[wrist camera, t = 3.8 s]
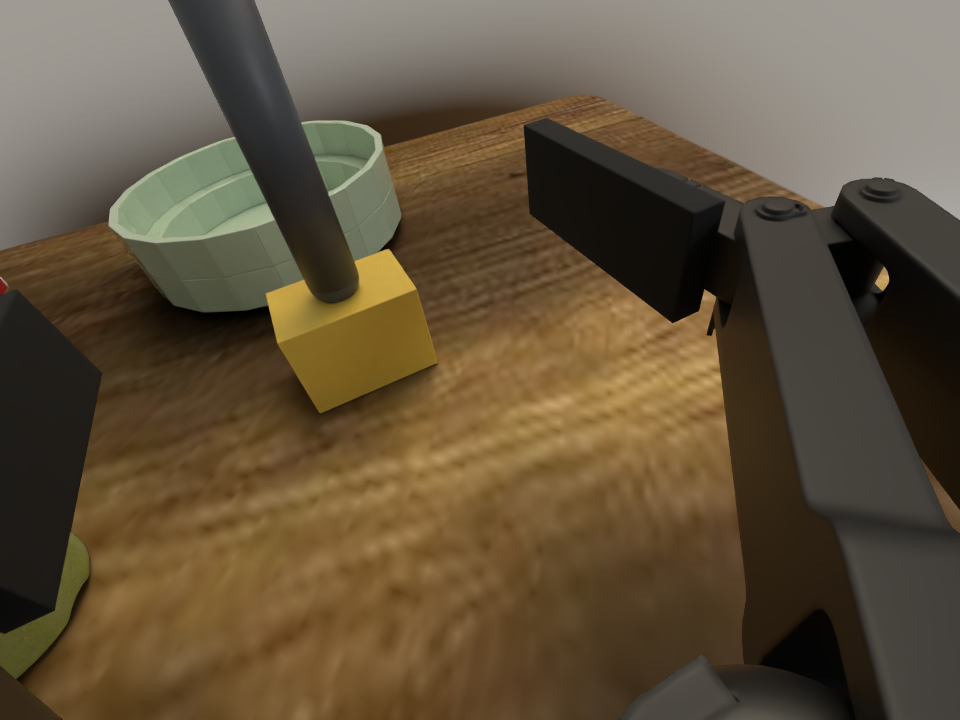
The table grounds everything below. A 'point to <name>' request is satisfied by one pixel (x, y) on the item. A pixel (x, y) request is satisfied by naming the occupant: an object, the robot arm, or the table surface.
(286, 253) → the bowl
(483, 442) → the table surface
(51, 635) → the plant pot
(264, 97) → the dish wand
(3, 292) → the soda can
